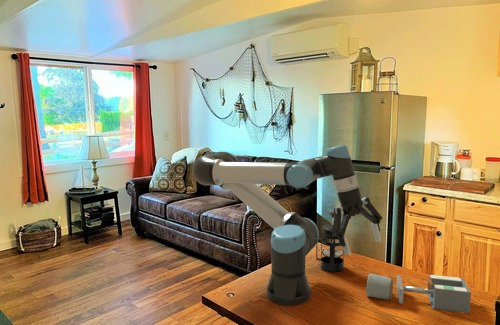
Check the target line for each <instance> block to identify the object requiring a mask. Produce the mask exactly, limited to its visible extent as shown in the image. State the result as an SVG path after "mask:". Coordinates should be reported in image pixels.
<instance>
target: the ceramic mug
mask: <svg viewBox="0 0 500 325" xmlns="http://www.w3.org/2000/svg"><path fill="white" fill-rule="evenodd" d="M393 291H394V279H393V278H390V277H388V276H383V275H379V274H375V273H368V276H367V282H366V292H365V293H366V297H370V298H376V299H382V300H387V301H388V300H390V301H391V300H392V298H393Z"/></svg>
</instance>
